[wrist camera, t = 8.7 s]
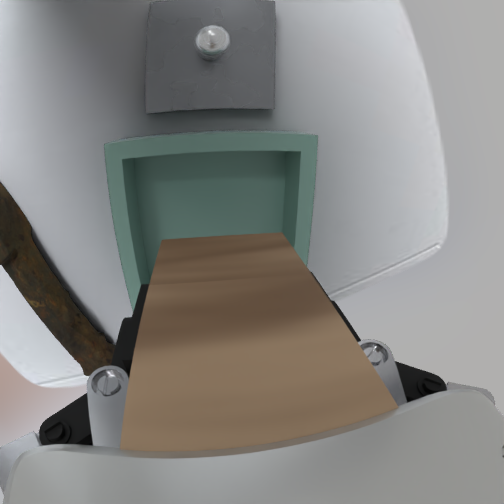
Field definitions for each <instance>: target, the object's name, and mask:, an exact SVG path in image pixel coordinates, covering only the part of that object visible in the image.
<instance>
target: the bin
mask: <svg viewBox="0 0 504 504" xmlns="http://www.w3.org/2000/svg"><path fill="white" fill-rule="evenodd" d="M317 145H318V135H313V134H308V133H302V132H292V131H260V130H234V131H202V132H185V133H171V134H160V135H150V136H141V137H133V138H126V139H119V140H116V141H113V142H110V143H106V144H104V150H105V162H106V172H107V181H108V189H109V197H110V204H111V211H112V217H113V223H114V229H115V235H116V240H117V245H118V250H119V255H120V260H121V265H122V269H123V273H124V278H125V282H126V286H127V290H128V294H129V298H130V302H131V306H132V309H133V312H134V308H135V304H136V301H137V297H138V293H139V290H140V287H141V284H150V280H151V276H152V272H153V269H154V265H155V262H156V258H157V254H158V251H159V248H160V244H161V241H162V240H164V239H178V238H193V237H209V236H225V235H242V234H260V233H279V232H282V233H283V234H284V236H285V237H286V239H287V240H288V241H289V243H290V244H291V246H292V247H293V248H294V250H295V251H296V253H297V254H298V255H299V257H300V258H301V260H302V261H303V262H304V264H305V265H306V267H307V261H308V252H309V243H310V233H311V223H312V213H313V201H314V189H315V176H316V161H317Z"/></svg>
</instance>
